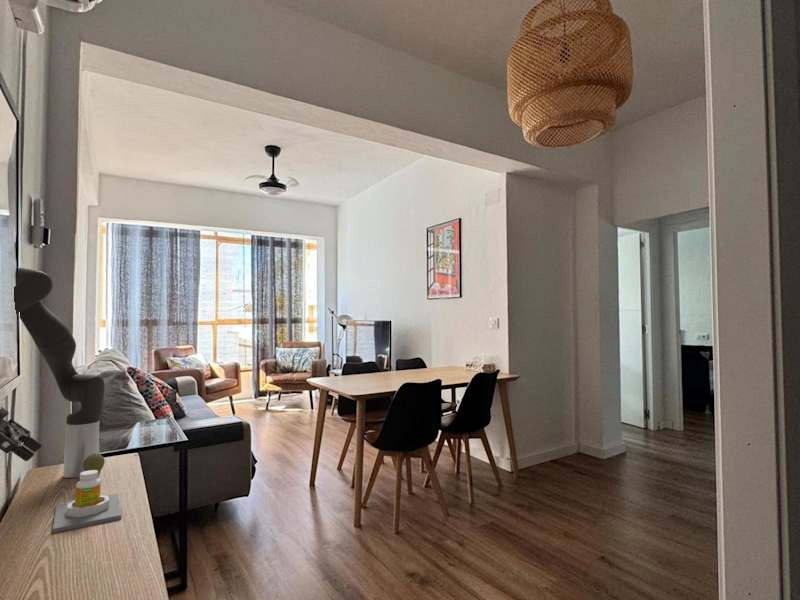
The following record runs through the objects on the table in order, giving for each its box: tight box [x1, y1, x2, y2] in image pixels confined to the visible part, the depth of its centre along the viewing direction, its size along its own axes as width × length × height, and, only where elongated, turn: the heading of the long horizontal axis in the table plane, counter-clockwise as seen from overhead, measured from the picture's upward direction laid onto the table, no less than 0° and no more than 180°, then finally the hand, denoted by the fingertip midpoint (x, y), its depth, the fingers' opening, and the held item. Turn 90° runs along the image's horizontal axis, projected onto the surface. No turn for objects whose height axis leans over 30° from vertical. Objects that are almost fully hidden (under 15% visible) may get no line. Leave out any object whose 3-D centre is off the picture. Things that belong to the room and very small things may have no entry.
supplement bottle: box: [74, 470, 102, 507], centre depth 116 cm, size 5×5×10 cm
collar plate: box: [52, 493, 122, 534], centre depth 116 cm, size 18×14×3 cm
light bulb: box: [83, 453, 106, 479], centre depth 136 cm, size 6×6×10 cm
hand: (35, 453), depth 113 cm, fingers open, 8 cm apart
